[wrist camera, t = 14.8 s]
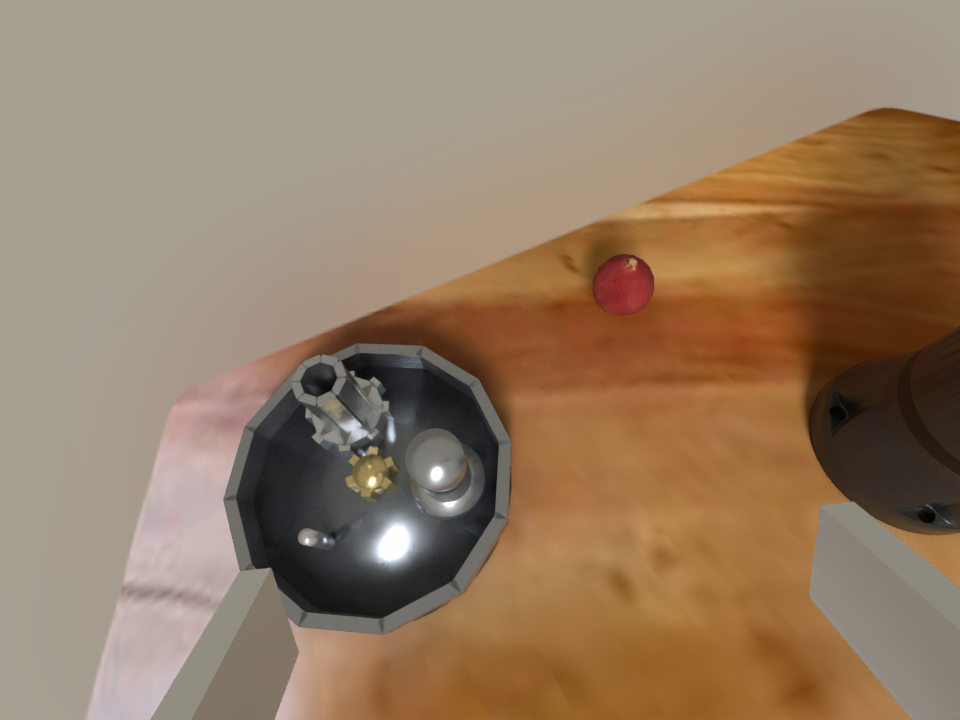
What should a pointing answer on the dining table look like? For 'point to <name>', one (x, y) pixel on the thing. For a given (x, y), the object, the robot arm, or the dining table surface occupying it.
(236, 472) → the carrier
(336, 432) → the planet gear
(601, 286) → the onion
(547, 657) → the dining table surface
